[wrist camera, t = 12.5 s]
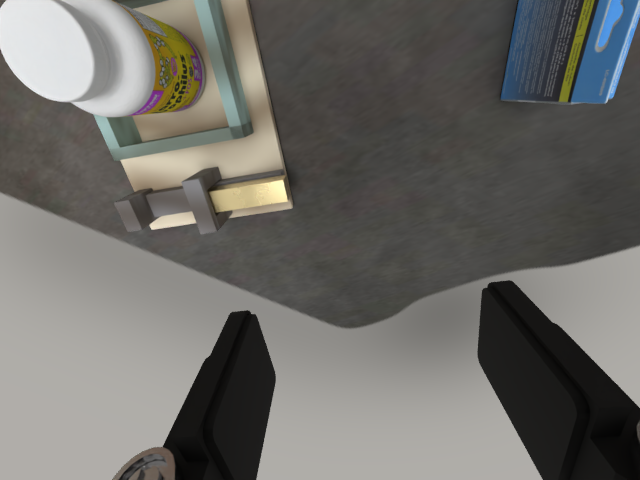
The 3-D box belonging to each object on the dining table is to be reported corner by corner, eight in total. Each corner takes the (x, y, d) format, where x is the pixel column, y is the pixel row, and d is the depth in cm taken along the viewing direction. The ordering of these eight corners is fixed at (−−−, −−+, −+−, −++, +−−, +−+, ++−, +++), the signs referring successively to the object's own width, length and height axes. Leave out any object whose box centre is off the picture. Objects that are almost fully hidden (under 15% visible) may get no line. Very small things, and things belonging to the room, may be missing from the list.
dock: (65, 15, 26) (-6, -6, 21) (242, -28, 24) (216, -63, 19) (157, 225, 35) (124, 250, 29) (293, 204, 33) (285, 226, 27)
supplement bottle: (188, 126, 29) (89, 148, 17) (121, 80, 27) (-38, 69, 15) (221, 60, 26) (131, 32, 14) (149, 4, 25) (-15, -75, 13)
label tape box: (540, 99, 28) (679, 102, 16) (494, 101, 28) (601, 106, 17) (570, -25, 24) (777, -128, 13) (516, -21, 24) (674, -119, 13)
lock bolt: (196, 189, 29) (187, 195, 28) (286, 174, 28) (282, 180, 27) (203, 208, 30) (194, 215, 28) (290, 194, 29) (287, 201, 27)
